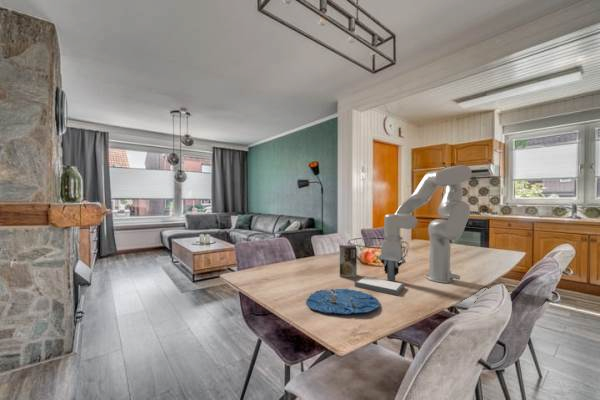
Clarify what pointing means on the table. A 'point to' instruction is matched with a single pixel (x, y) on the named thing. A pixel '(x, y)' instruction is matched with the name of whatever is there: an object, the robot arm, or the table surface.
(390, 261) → the marker
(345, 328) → the table surface
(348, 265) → the coffee box
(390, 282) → the drawing board
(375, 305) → the decorative plate
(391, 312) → the table surface
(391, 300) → the table surface
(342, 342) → the table surface
